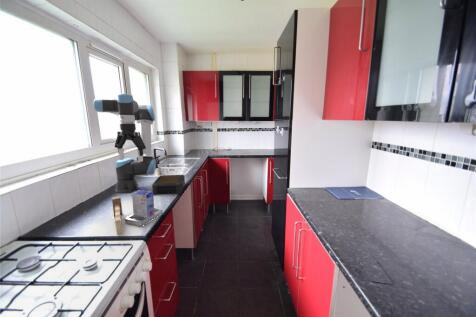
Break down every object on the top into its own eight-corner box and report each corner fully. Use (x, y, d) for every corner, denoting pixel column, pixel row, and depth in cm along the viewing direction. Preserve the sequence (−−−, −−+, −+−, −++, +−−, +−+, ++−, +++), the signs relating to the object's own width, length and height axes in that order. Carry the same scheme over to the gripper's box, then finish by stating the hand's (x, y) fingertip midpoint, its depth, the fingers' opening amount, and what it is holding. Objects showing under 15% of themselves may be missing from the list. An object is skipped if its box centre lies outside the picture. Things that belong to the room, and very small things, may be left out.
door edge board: (114, 214, 112) (112, 197, 110) (122, 213, 114) (120, 196, 112) (114, 235, 93) (112, 215, 91) (124, 232, 95) (122, 213, 93)
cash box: (182, 194, 144) (181, 184, 142) (152, 195, 141) (151, 185, 139) (185, 183, 168) (185, 174, 166) (160, 184, 165) (159, 175, 163)
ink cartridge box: (155, 213, 109) (153, 187, 106) (147, 217, 104) (145, 191, 101) (141, 210, 112) (138, 185, 110) (133, 214, 107) (130, 188, 104)
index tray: (146, 210, 117) (146, 206, 117) (162, 213, 114) (162, 209, 113) (125, 223, 103) (124, 218, 103) (142, 226, 100) (141, 222, 100)
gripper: (104, 122, 112) (109, 160, 116) (140, 123, 105) (143, 163, 109) (116, 122, 119) (120, 157, 123) (150, 123, 112) (153, 160, 116)
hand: (131, 160), depth 116 cm, fingers open, 13 cm apart
